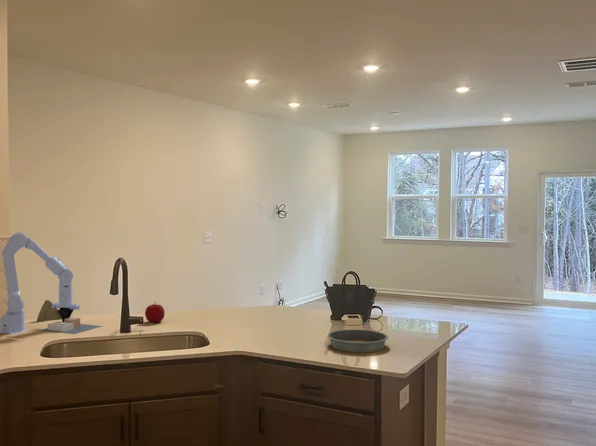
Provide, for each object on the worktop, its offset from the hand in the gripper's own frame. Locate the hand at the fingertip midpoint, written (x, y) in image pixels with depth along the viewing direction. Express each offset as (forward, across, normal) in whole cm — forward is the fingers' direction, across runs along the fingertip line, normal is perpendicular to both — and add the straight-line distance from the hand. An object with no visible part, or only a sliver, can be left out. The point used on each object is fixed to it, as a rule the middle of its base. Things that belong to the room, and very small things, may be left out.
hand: (65, 324), depth 258 cm
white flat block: (+1, -3, +6) cm, 6 cm away
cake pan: (+2, -134, -19) cm, 135 cm away
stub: (+1, -4, 0) cm, 4 cm away
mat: (+2, -5, +2) cm, 6 cm away
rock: (+2, +19, -10) cm, 22 cm away
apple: (+2, -30, -27) cm, 40 cm away
